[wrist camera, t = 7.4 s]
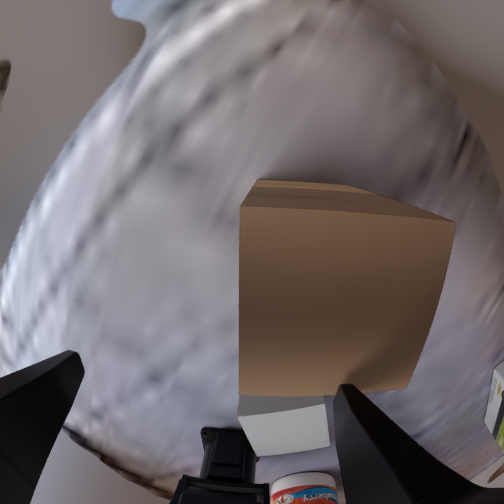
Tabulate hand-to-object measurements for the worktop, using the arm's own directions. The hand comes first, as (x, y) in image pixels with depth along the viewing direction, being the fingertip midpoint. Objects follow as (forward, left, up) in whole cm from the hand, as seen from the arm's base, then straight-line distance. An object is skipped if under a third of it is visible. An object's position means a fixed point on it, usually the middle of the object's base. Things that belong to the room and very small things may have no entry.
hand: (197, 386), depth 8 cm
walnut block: (+3, -4, -6) cm, 8 cm away
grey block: (-11, -4, -12) cm, 17 cm away
